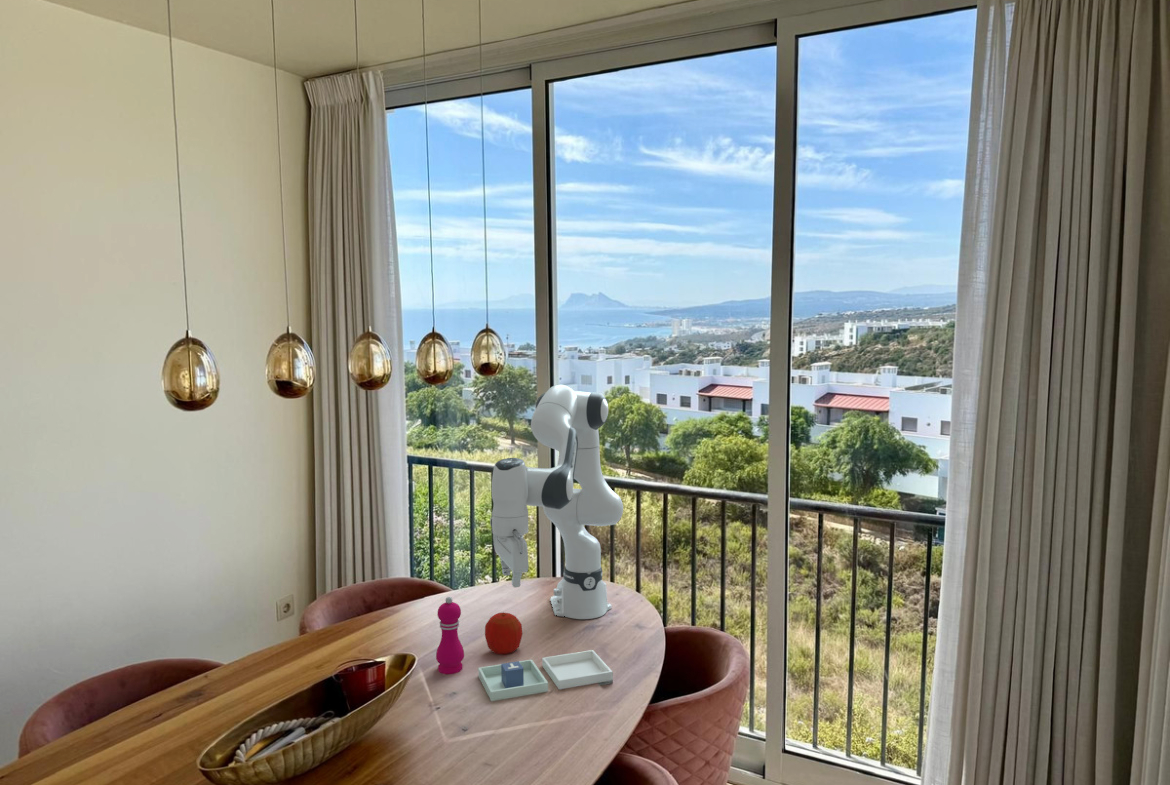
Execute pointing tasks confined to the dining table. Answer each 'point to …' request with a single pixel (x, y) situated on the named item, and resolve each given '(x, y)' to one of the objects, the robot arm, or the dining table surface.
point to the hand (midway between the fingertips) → (511, 580)
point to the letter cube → (512, 674)
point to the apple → (503, 633)
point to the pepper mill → (449, 639)
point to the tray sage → (497, 690)
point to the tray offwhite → (577, 669)
